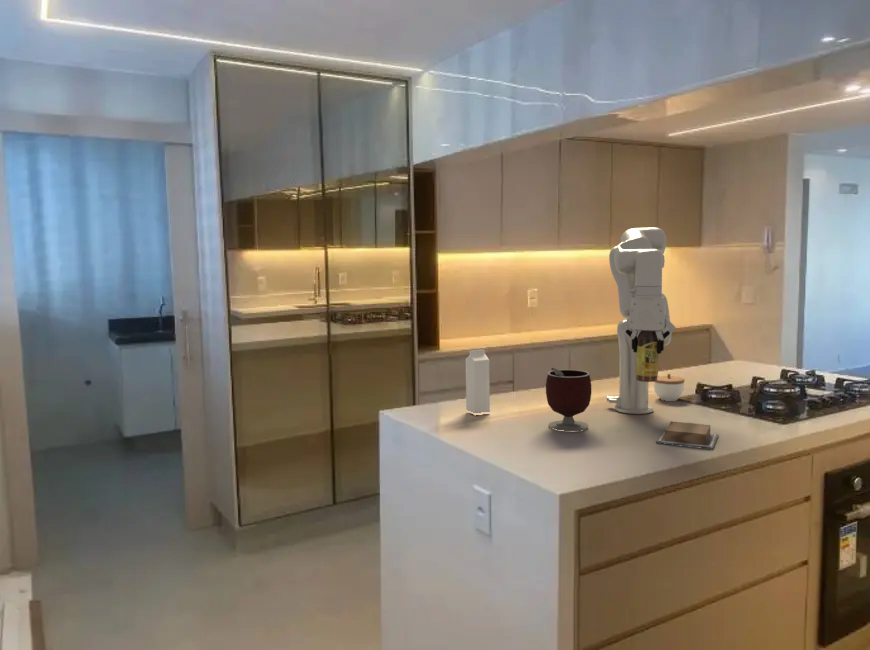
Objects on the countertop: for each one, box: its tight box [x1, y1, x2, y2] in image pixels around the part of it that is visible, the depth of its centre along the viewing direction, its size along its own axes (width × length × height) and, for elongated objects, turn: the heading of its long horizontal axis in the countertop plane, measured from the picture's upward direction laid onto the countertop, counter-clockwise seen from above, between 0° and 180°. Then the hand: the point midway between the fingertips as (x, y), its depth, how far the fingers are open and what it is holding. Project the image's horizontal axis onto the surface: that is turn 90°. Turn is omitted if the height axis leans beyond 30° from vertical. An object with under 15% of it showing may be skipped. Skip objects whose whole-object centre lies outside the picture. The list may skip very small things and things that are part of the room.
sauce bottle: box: [636, 331, 659, 383], centre depth 202 cm, size 6×6×20 cm
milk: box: [465, 348, 491, 413], centre depth 231 cm, size 6×6×22 cm
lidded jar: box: [653, 373, 685, 402], centre depth 248 cm, size 11×11×9 cm
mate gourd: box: [545, 367, 592, 431], centre depth 211 cm, size 16×14×20 cm
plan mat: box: [655, 420, 719, 450], centre depth 195 cm, size 15×15×4 cm
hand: (647, 351), depth 202 cm, fingers closed on sauce bottle, 6 cm apart
